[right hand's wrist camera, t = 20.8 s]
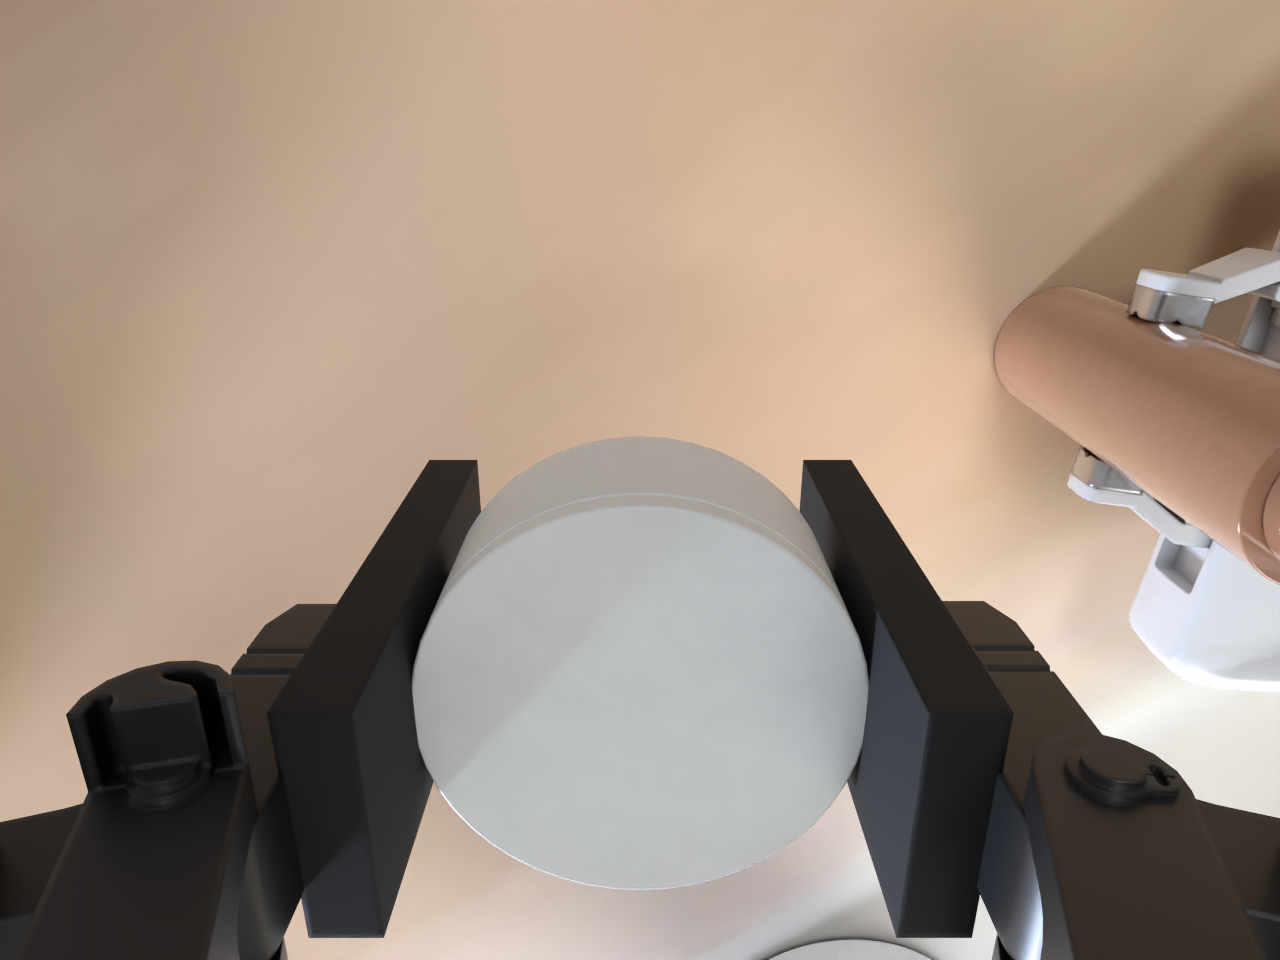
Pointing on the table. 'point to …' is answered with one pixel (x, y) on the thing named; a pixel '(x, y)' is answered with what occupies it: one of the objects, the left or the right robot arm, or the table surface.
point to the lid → (640, 669)
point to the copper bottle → (1157, 410)
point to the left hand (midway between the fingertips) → (1109, 387)
